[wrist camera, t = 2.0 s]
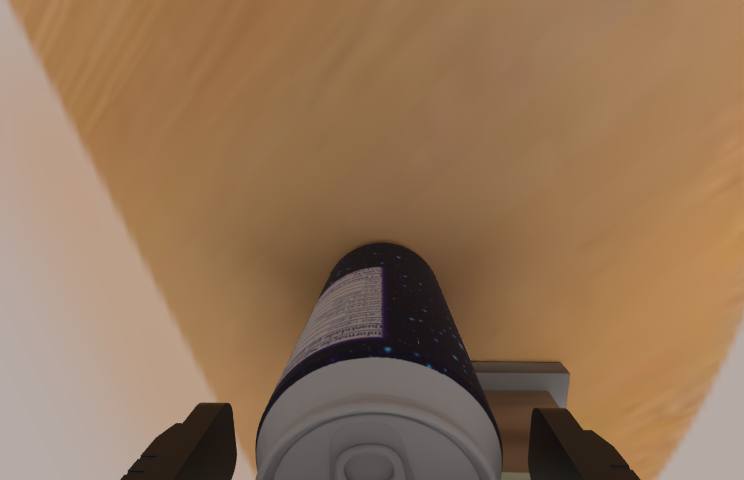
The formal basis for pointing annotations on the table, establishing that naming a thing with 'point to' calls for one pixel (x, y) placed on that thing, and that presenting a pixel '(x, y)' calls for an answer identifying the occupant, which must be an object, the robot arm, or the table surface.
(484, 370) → the block
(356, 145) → the table surface
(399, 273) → the beverage can
